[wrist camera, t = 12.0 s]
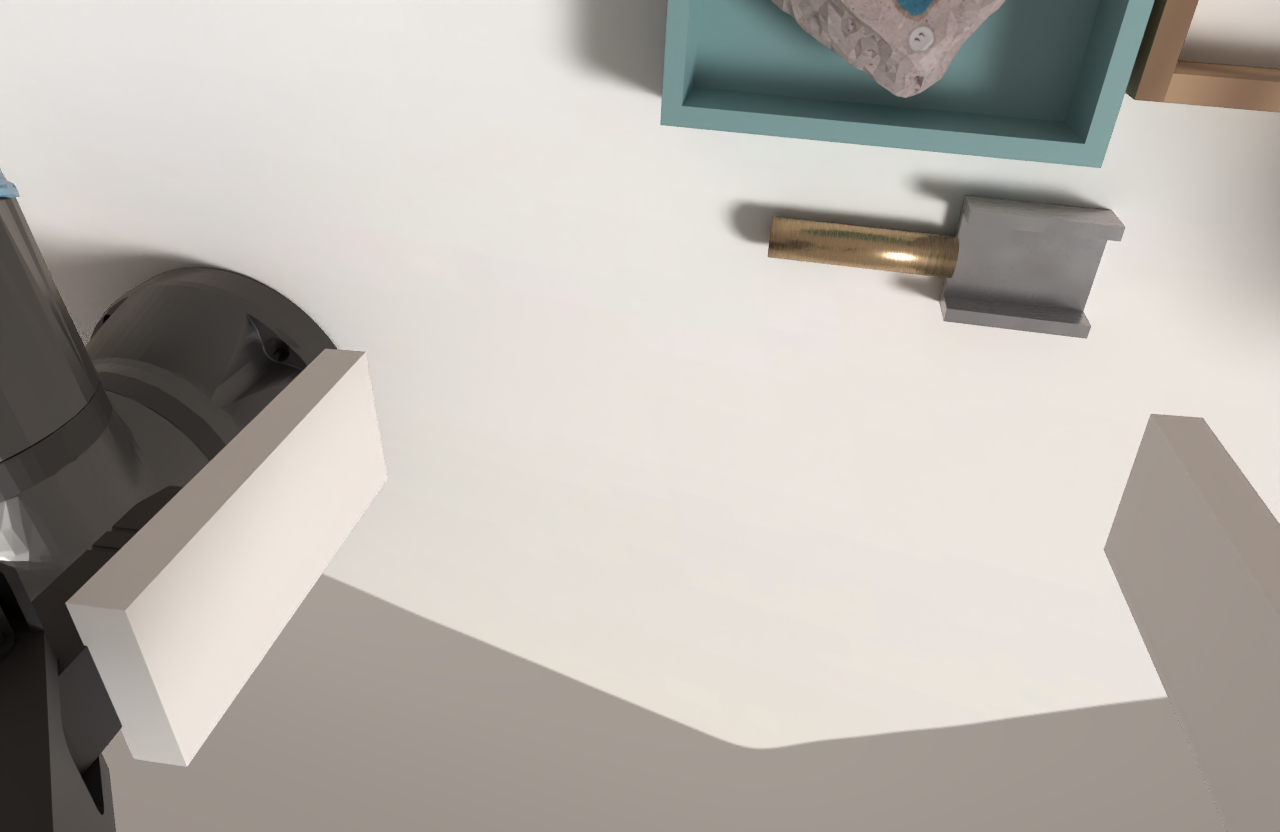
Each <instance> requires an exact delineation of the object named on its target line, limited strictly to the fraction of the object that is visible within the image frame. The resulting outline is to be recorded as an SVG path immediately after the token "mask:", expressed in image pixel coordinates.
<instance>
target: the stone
mask: <svg viewBox="0 0 1280 832" xmlns="http://www.w3.org/2000/svg"><path fill="white" fill-rule="evenodd" d="M771 1H772V3H774V4H775V5H776V6H777V7H778V8H779V9H781V10H782V11H784V12H786V13H788V14H790V15H791V16H792V17H793V18H794V19H795V20H796V21H797V23H798V24H799V25H800V26H801V28H802V29H803V30H804V31H806V32H807V33H808V34H810V35H811V36H812V37H814V38H815V39H816V40H817V41H819V42H820V43H821V44H823V45H824V46H826V47H827V48H829V49H830V50H832V51H833V52H835V53H836V54H837V55H839V56H840V57H841V58H842V59H844V60H845V61H846V62H847V63H849V64H850V65H852V66H853V67H855V68H857V69H859V70H862V71H864V72H865V73H867V74H868V75H869V76H871V77H872V78H873V79H874V80H875V81H876V82H877V83H878V84H880V85H881V86H883V87H884V88H885V89H887V90H888V91H890V92H891V93H893V94H894V95H896V96H898V97H904V98H907V97H910V96H913V95H916V94H919V93H921V92H923V91H924V90H926V89H927V88H929V87H930V86H931V85H933V84H934V83H936V82H937V81H938V80H940V79H941V78H942V77H943V75H944V73H945V72H946V70H947V68H948V67H949V65H950V64H951V62H952V60H953V58H954V57H955V55H956V54H957V53H958V51H959V50H960V48H961V46H962V45H963V43H964V42H965V41H966V40H967V39H968V38H969V37H970V36H971V35H972V34H973V33H974V32H975V31H976V30H977V28H978V27H979V26H980V25H981V24H982V23H983V22H984V21H985V20H986V19H987V18H988V17H989V16H990V15H991V14H992V13H994V12H995V11H997V10H998V9H999V8H1000V7H1001V5H1002V4H1003V3H1004V2H1005V0H771Z"/></svg>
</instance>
